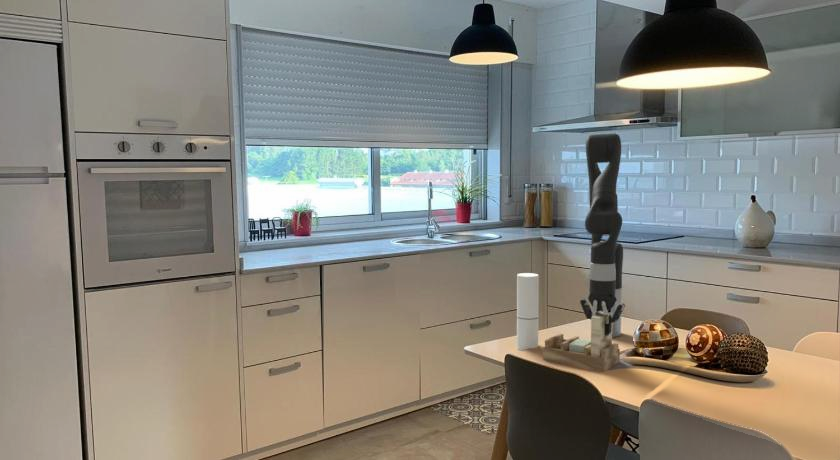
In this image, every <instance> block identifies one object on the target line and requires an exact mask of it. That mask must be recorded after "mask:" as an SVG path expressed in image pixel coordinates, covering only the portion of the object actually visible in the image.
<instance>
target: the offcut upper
mask: <svg viewBox="0 0 840 460" xmlns="http://www.w3.org/2000/svg"><path fill="white" fill-rule="evenodd" d="M590 344H591V340H589V339H588V340H587V339H582V338H579V339H577V340H575V341H573V342H572V343H570V344H569V351H571V352H576V353H581V354H584V347H586V346H588V345H590Z"/></svg>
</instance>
